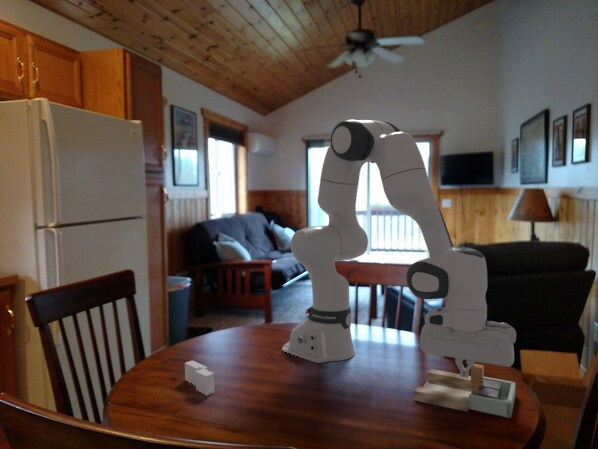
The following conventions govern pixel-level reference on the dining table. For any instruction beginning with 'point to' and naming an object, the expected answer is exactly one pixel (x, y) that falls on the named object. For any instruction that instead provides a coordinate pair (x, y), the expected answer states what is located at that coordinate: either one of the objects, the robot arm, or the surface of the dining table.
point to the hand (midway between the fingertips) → (464, 377)
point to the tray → (495, 400)
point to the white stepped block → (199, 377)
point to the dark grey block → (493, 386)
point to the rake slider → (477, 378)
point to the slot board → (445, 390)
